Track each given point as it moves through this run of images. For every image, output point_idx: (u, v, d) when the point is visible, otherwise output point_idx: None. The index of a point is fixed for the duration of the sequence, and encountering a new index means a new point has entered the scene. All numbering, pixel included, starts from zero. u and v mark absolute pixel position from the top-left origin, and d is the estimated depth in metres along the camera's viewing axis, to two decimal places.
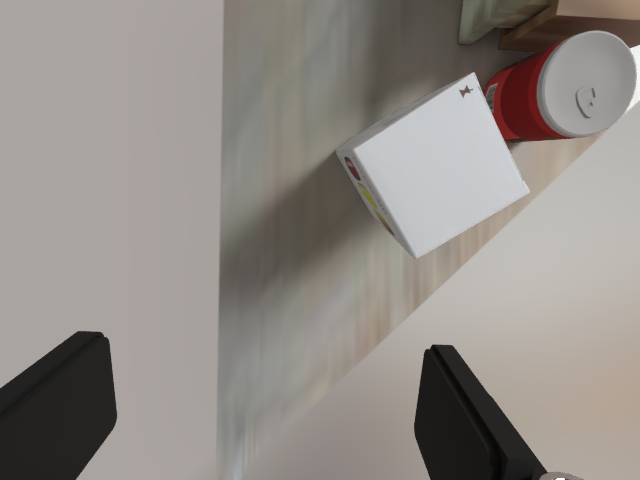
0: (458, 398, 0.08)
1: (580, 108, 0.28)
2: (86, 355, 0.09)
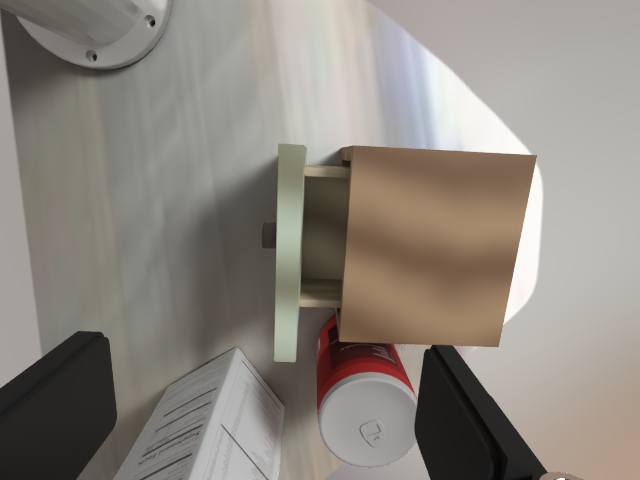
0: (458, 398, 0.08)
1: (367, 440, 0.25)
2: (86, 355, 0.09)
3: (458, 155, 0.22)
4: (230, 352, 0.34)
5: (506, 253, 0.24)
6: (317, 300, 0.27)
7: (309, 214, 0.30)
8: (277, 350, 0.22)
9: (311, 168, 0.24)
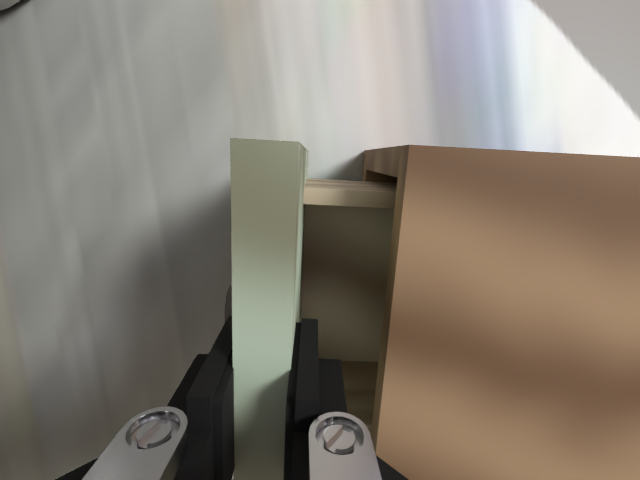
0: (293, 359, 0.09)
1: None
2: None
3: (635, 166, 0.10)
4: None
5: None
6: None
7: (312, 260, 0.18)
8: None
9: (316, 189, 0.13)
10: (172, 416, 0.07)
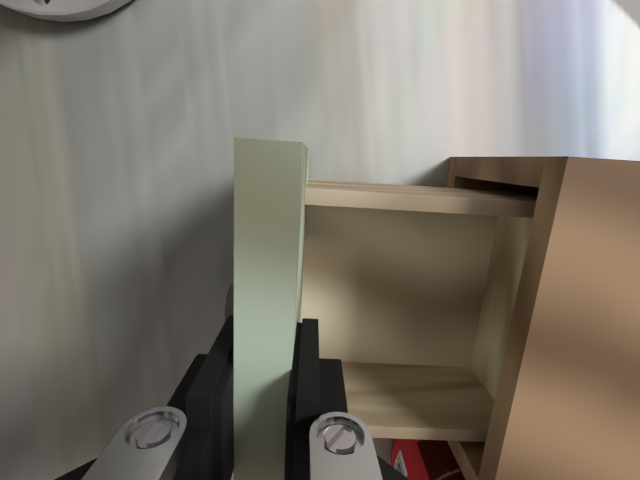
0: (294, 359, 0.09)
1: None
2: None
3: None
4: None
5: None
6: None
7: (312, 260, 0.18)
8: None
9: (318, 190, 0.13)
10: (171, 416, 0.07)
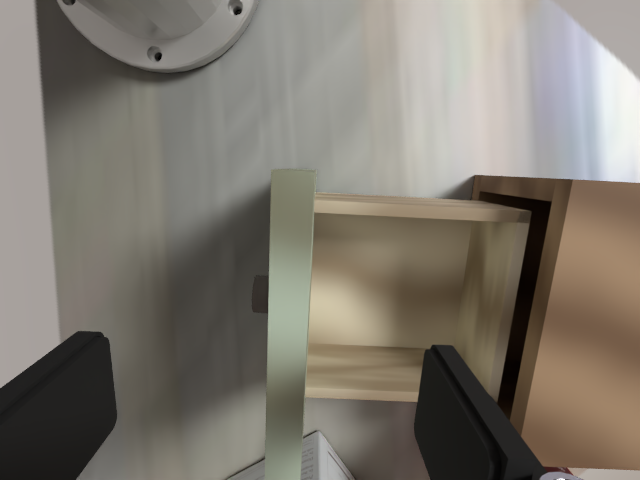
0: (458, 398, 0.08)
1: None
2: (86, 355, 0.09)
3: None
4: (311, 439, 0.26)
5: None
6: (331, 388, 0.19)
7: (319, 259, 0.22)
8: None
9: (324, 201, 0.17)
10: None
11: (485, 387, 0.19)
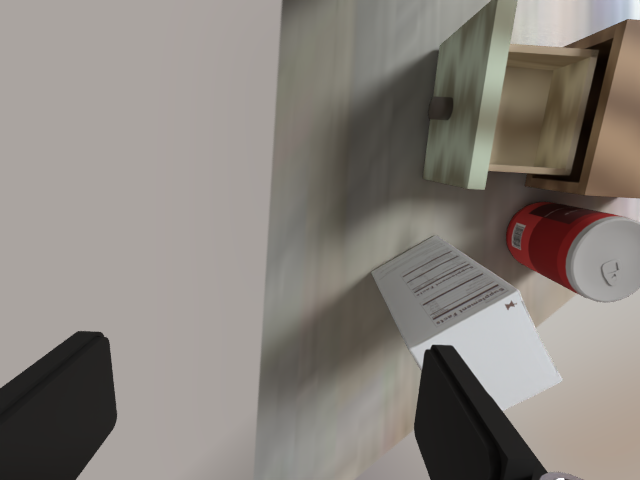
0: (458, 398, 0.08)
1: (605, 278, 0.31)
2: (86, 355, 0.09)
3: None
4: (433, 238, 0.40)
5: None
6: None
7: None
8: (471, 178, 0.27)
9: None
10: None
11: (563, 166, 0.32)
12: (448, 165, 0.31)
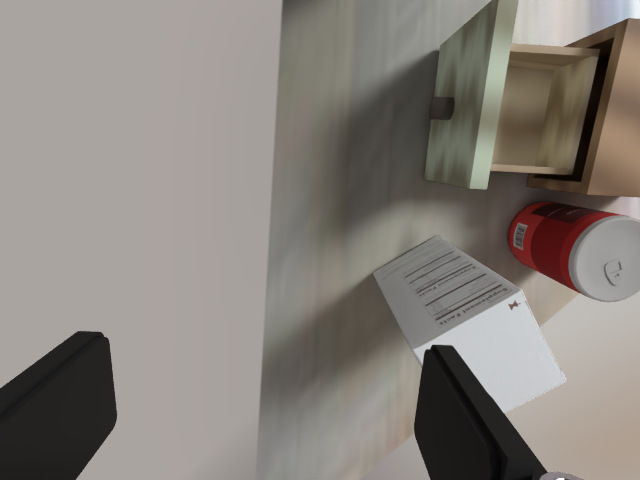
0: (458, 398, 0.08)
1: (608, 278, 0.31)
2: (86, 355, 0.09)
3: None
4: (434, 238, 0.40)
5: None
6: None
7: None
8: (473, 178, 0.27)
9: None
10: None
11: (565, 165, 0.32)
12: (449, 165, 0.31)
